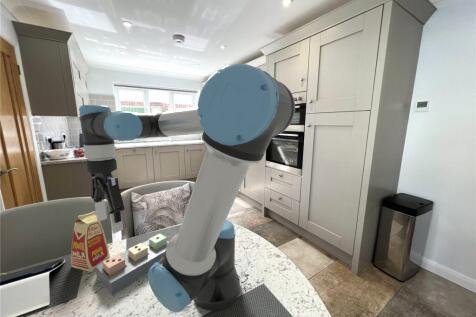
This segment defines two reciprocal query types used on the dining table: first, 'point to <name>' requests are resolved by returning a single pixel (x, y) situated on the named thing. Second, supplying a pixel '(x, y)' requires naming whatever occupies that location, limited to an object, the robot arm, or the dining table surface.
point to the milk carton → (88, 243)
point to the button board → (130, 269)
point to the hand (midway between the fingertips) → (109, 225)
